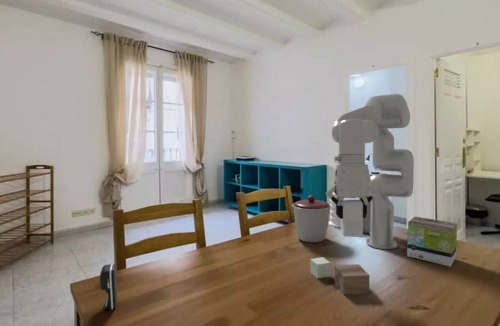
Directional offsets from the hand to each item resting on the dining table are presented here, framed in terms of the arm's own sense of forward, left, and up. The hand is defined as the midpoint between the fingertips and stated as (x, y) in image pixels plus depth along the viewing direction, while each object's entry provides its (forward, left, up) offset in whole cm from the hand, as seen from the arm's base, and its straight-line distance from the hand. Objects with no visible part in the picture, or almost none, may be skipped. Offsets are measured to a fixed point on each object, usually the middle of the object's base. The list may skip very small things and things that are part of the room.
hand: (351, 216), depth 91 cm
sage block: (-10, -7, -23) cm, 26 cm away
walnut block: (0, 0, -23) cm, 23 cm away
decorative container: (-69, +20, -23) cm, 75 cm away
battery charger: (+5, -73, -23) cm, 77 cm away
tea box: (-21, +40, -23) cm, 51 cm away
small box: (0, 0, -5) cm, 5 cm away
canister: (-47, -1, -23) cm, 52 cm away
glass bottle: (-55, +30, -23) cm, 67 cm away
